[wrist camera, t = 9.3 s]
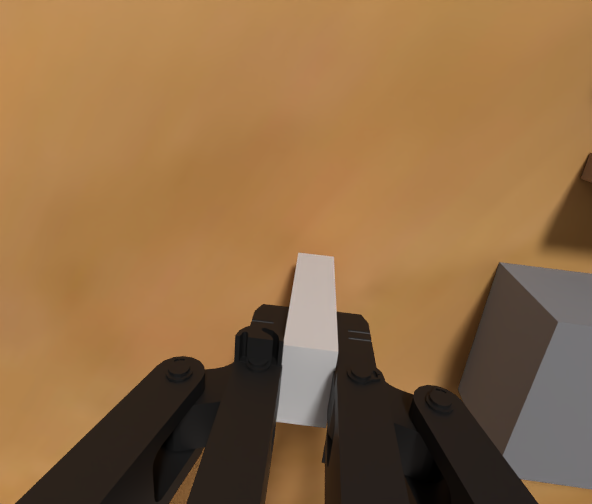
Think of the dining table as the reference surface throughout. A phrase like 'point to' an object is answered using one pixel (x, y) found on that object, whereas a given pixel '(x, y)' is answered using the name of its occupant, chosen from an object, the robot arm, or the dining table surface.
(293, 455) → the dining table surface
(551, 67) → the dining table surface
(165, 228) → the dining table surface
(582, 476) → the plain gray cuboid
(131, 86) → the dining table surface
